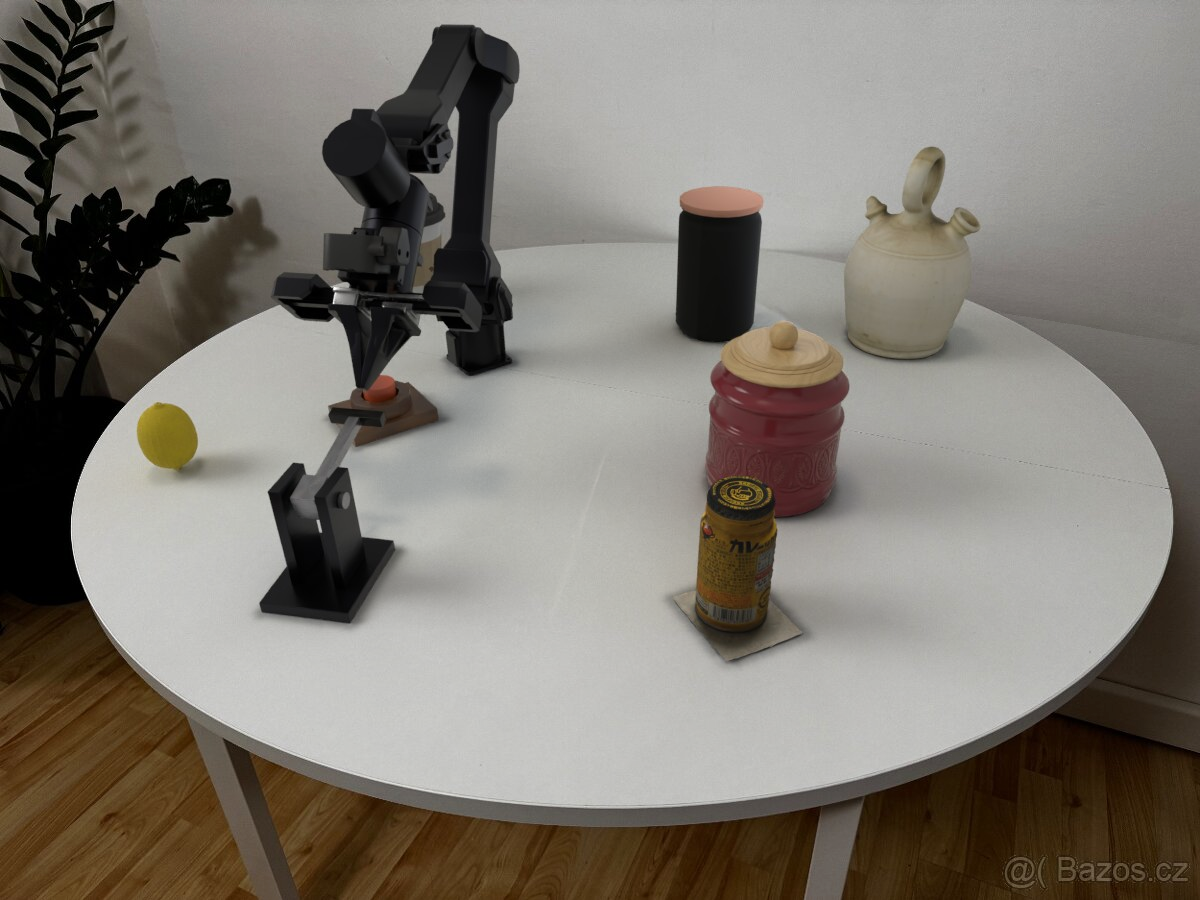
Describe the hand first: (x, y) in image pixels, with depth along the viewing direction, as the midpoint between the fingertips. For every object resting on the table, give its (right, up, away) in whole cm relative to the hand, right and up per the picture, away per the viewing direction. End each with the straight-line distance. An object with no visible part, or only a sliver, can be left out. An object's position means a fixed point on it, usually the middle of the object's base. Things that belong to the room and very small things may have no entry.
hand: (362, 389), depth 82 cm
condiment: (+33, -20, -7) cm, 39 cm away
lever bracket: (-2, -17, -3) cm, 17 cm away
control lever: (-1, -7, -3) cm, 8 cm away
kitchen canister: (+39, -9, +9) cm, 41 cm away
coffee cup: (-6, +17, +52) cm, 55 cm away
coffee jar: (+37, +11, +41) cm, 57 cm away
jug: (+61, +9, +37) cm, 72 cm away
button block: (-3, -2, +21) cm, 22 cm away
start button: (-3, +1, +20) cm, 20 cm away
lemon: (-23, -8, +13) cm, 27 cm away
